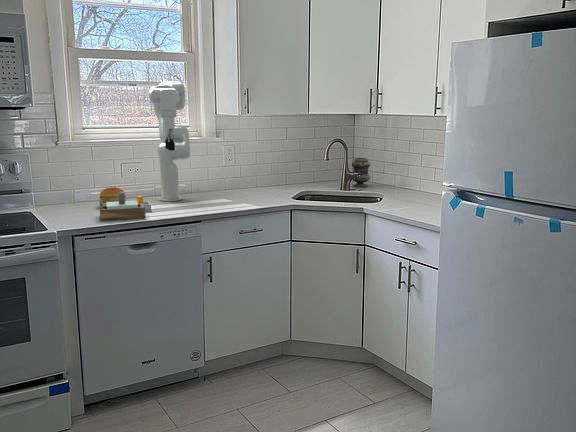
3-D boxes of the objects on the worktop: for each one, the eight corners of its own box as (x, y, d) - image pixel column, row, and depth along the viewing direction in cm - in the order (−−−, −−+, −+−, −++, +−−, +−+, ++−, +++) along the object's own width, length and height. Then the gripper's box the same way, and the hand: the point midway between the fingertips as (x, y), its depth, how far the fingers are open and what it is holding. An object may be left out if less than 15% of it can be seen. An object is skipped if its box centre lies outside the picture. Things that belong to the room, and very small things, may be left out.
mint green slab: (106, 205, 271) (105, 191, 270) (136, 203, 276) (135, 190, 274) (106, 209, 260) (105, 195, 259) (138, 207, 264) (137, 194, 263)
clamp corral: (115, 210, 285) (115, 203, 284) (149, 208, 290) (149, 201, 289) (116, 213, 277) (116, 206, 276) (151, 211, 282) (150, 204, 282)
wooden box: (100, 216, 271) (99, 199, 269) (143, 213, 277) (142, 197, 276) (100, 220, 260) (99, 203, 258) (145, 217, 266) (144, 201, 265)
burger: (130, 204, 302) (129, 185, 300) (121, 209, 288) (120, 189, 286) (105, 204, 302) (104, 185, 300) (95, 208, 289) (94, 189, 287)
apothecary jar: (365, 188, 353) (366, 159, 350) (347, 186, 359) (348, 158, 356) (372, 185, 363) (373, 157, 360) (355, 184, 369) (356, 156, 366)
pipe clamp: (125, 213, 278) (124, 200, 276) (120, 211, 280) (119, 199, 279) (145, 209, 287) (145, 196, 285) (140, 208, 289) (139, 195, 288)
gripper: (158, 114, 283) (160, 148, 287) (163, 115, 267) (164, 151, 271) (173, 113, 286) (175, 148, 289) (179, 114, 270) (180, 150, 273)
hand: (170, 149), depth 280 cm, fingers open, 9 cm apart
